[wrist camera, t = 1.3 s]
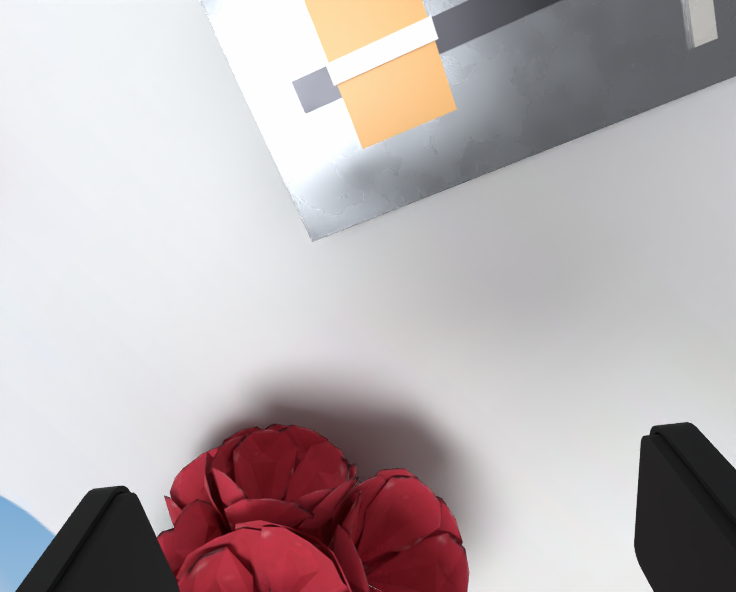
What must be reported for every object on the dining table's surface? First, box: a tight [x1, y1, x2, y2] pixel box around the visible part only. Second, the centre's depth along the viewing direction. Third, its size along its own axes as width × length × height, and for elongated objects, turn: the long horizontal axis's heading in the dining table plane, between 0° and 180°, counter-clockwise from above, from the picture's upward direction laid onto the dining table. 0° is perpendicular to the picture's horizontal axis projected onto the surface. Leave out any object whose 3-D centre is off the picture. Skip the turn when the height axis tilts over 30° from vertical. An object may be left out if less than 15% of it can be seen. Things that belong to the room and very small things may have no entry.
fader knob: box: [304, 0, 457, 149], centre depth 21 cm, size 4×6×5 cm
